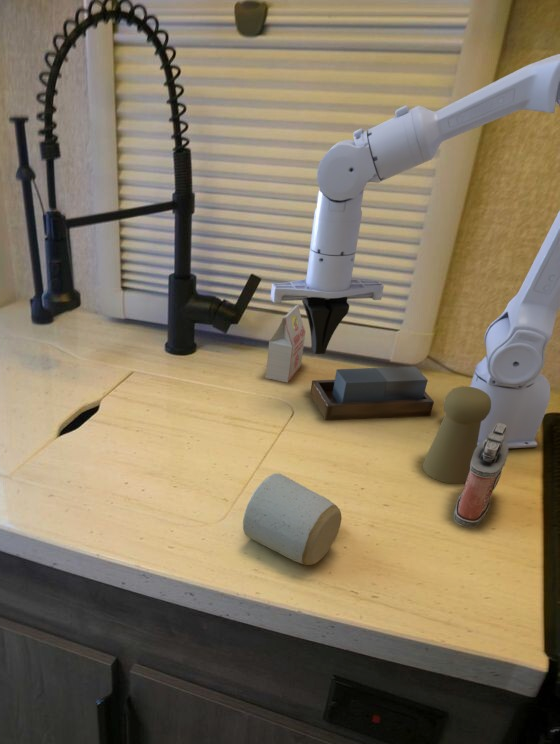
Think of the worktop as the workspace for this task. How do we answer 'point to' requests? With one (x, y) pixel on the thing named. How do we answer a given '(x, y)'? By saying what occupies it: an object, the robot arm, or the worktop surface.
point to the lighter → (482, 478)
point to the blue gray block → (359, 385)
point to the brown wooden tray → (398, 401)
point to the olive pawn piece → (457, 435)
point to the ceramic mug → (291, 519)
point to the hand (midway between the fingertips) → (318, 351)
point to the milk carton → (286, 347)
